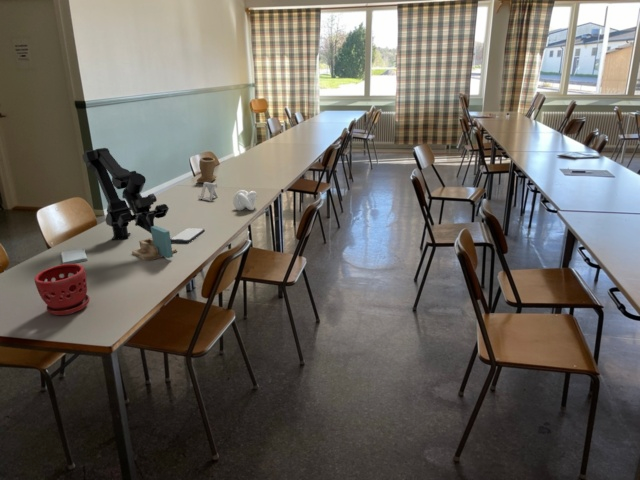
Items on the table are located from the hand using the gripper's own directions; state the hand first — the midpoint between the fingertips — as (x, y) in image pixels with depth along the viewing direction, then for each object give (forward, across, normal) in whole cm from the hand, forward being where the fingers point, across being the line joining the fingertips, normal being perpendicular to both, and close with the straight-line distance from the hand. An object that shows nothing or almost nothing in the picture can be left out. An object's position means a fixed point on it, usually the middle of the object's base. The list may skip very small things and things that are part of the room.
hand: (153, 233), depth 182 cm
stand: (+4, 0, +7) cm, 8 cm away
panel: (+9, 0, +1) cm, 9 cm away
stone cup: (-57, +84, +68) cm, 122 cm away
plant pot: (+20, -40, -8) cm, 46 cm away
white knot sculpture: (-9, +60, +20) cm, 64 cm away
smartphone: (0, +19, +12) cm, 22 cm away
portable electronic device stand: (-31, +60, +43) cm, 80 cm away
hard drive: (-9, -22, +22) cm, 32 cm away
